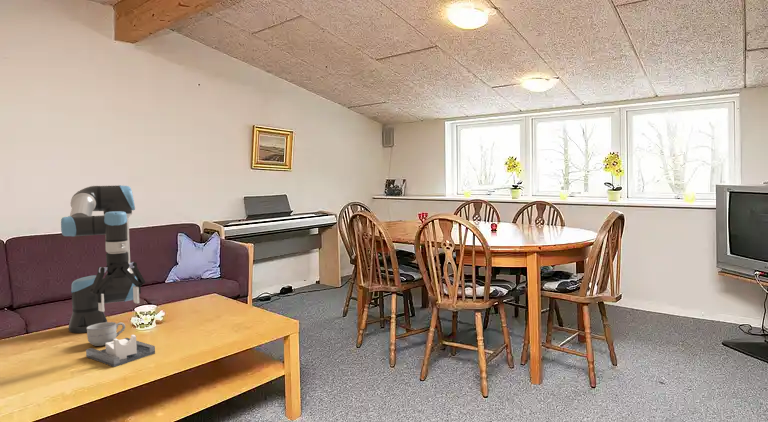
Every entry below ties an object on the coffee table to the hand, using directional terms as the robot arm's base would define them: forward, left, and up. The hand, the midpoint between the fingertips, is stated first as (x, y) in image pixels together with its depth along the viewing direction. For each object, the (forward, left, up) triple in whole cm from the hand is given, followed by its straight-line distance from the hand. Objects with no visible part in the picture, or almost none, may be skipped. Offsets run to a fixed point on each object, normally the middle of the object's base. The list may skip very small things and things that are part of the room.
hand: (119, 306), depth 190 cm
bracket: (+2, -1, -18) cm, 18 cm away
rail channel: (+1, -1, -19) cm, 19 cm away
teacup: (-18, +4, -19) cm, 27 cm away
